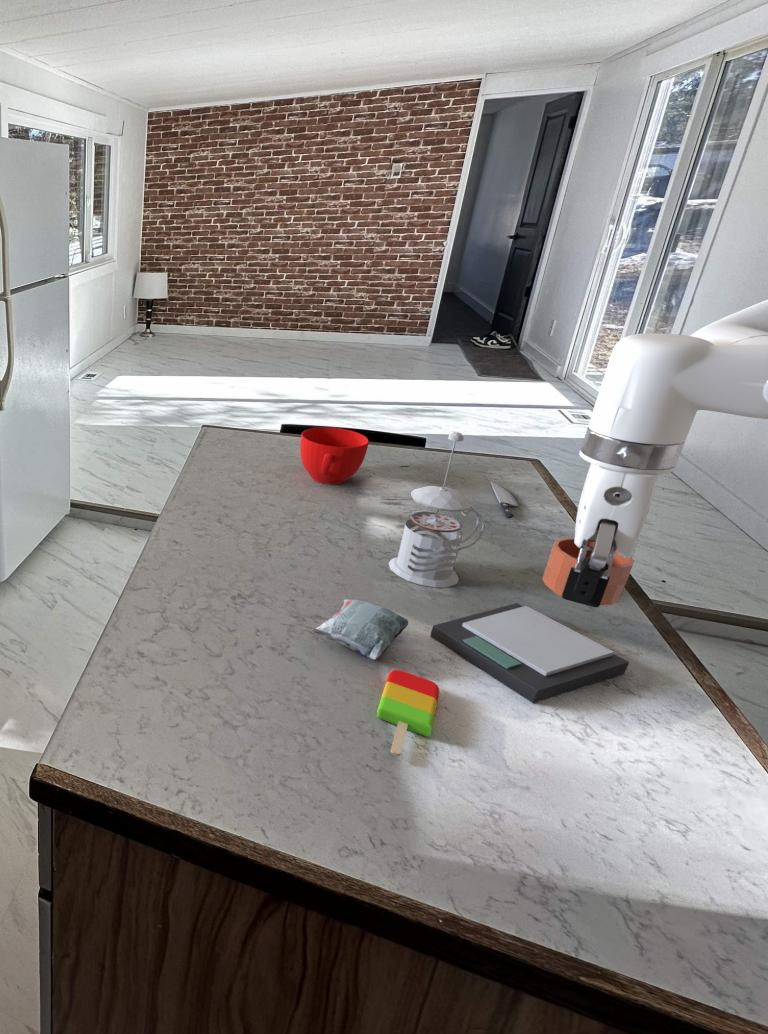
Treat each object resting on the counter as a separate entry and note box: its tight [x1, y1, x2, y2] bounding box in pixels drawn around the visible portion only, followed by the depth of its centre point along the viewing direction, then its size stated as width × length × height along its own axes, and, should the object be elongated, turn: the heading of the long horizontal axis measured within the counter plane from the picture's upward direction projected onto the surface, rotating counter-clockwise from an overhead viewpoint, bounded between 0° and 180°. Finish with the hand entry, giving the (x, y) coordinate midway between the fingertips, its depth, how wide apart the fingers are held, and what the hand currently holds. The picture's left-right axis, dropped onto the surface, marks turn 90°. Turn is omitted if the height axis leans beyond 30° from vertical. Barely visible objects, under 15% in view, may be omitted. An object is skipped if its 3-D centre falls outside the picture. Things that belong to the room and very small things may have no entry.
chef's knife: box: [490, 481, 519, 519], centre depth 129 cm, size 19×1×3 cm
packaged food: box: [311, 598, 409, 661], centre depth 92 cm, size 9×12×5 cm
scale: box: [430, 602, 630, 704], centre depth 87 cm, size 16×14×3 cm
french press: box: [388, 431, 485, 588], centre depth 103 cm, size 10×12×25 cm
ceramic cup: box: [299, 426, 369, 485], centre depth 140 cm, size 13×17×10 cm
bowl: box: [542, 537, 635, 606], centre depth 75 cm, size 7×7×6 cm
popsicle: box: [376, 669, 440, 757], centre depth 78 cm, size 6×15×2 cm, turn 140°
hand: (581, 586), depth 76 cm, fingers closed on bowl, 7 cm apart
